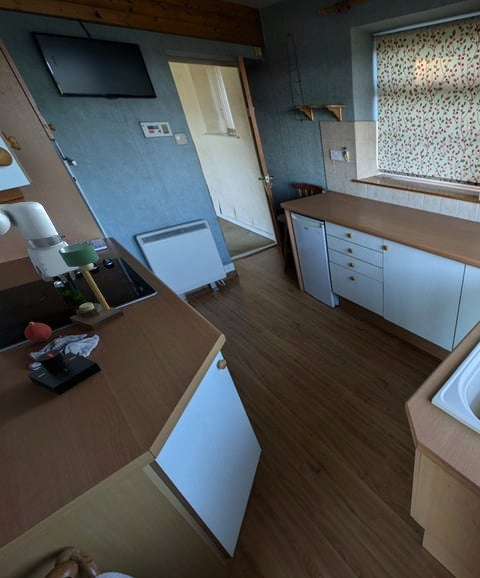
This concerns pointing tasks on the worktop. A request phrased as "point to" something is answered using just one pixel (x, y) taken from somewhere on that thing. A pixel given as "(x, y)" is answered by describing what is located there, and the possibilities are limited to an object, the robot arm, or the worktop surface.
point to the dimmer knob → (53, 360)
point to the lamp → (83, 264)
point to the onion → (38, 332)
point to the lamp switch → (86, 306)
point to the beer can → (70, 296)
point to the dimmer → (65, 374)
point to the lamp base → (96, 316)
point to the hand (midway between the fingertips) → (73, 289)
